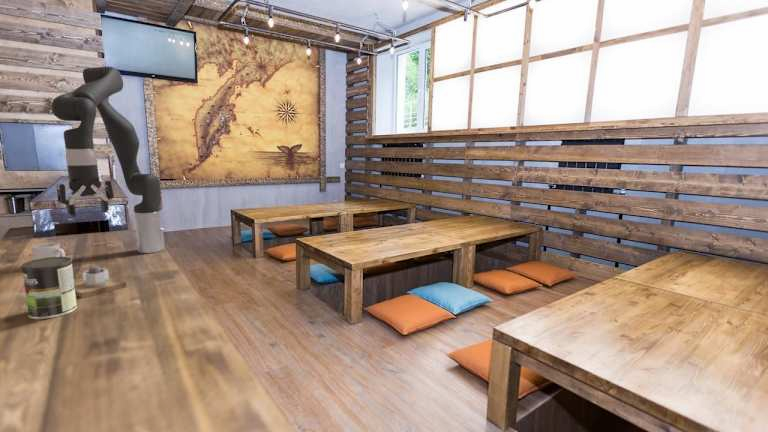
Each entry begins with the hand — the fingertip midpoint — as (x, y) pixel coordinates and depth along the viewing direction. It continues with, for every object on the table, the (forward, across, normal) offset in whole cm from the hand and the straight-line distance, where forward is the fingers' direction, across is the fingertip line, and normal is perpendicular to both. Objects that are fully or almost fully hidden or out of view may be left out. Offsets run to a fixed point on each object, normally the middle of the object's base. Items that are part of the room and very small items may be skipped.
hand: (89, 214), depth 123 cm
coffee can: (+23, +17, +16) cm, 33 cm away
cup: (+24, +2, -33) cm, 41 cm away
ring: (+21, +3, +6) cm, 22 cm away
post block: (+23, +3, +6) cm, 24 cm away
